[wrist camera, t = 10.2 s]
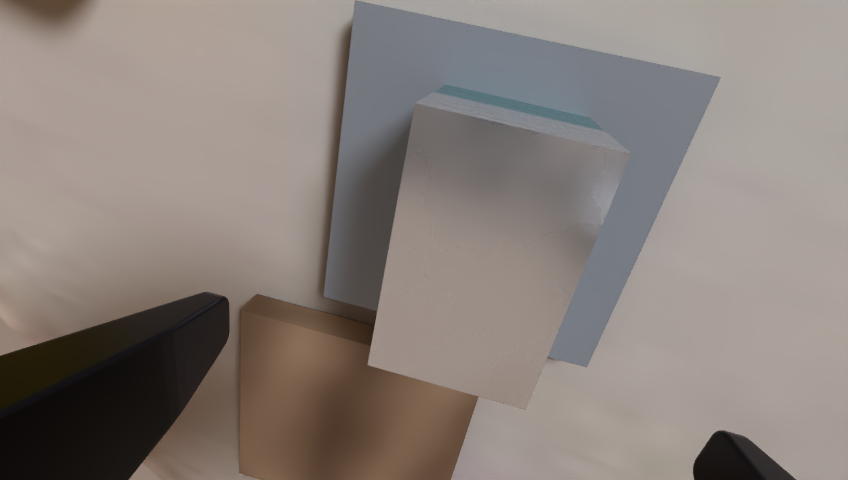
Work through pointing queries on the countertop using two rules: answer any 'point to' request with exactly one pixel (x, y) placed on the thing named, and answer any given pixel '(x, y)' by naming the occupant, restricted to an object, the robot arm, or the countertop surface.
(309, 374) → the walnut stand
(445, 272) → the block
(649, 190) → the slate stand
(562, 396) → the countertop surface
